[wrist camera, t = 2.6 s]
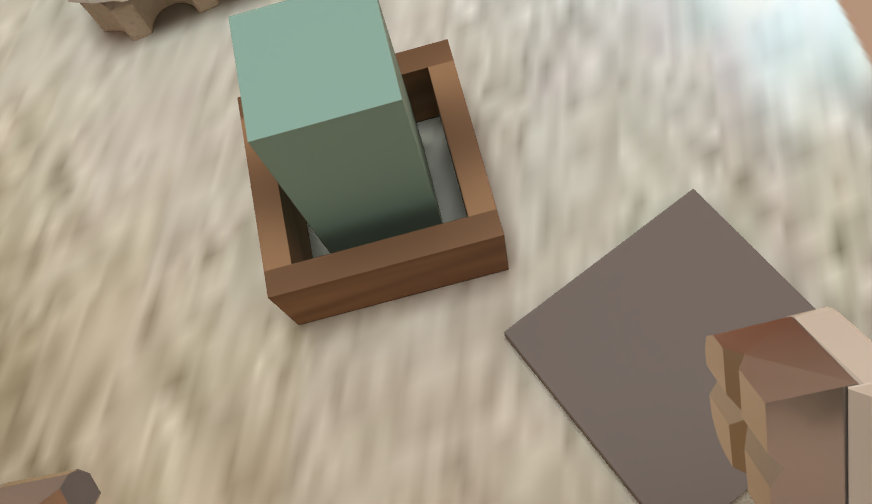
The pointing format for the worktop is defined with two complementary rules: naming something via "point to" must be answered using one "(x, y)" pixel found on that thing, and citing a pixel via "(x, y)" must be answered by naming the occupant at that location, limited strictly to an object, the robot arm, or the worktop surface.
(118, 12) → the egg carton
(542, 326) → the rubber mat
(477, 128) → the worktop surface
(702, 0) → the worktop surface
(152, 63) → the worktop surface
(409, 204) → the teal block
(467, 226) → the pocket holder
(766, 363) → the robot arm
